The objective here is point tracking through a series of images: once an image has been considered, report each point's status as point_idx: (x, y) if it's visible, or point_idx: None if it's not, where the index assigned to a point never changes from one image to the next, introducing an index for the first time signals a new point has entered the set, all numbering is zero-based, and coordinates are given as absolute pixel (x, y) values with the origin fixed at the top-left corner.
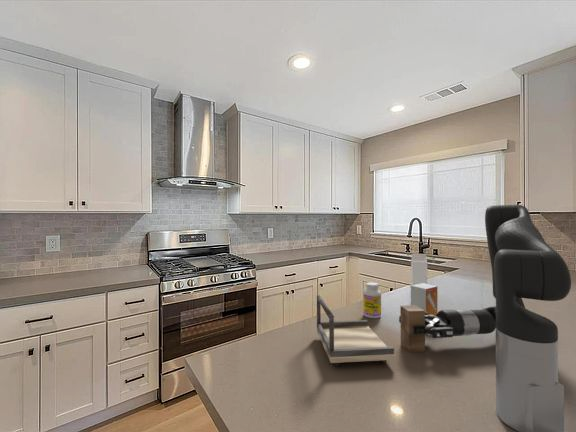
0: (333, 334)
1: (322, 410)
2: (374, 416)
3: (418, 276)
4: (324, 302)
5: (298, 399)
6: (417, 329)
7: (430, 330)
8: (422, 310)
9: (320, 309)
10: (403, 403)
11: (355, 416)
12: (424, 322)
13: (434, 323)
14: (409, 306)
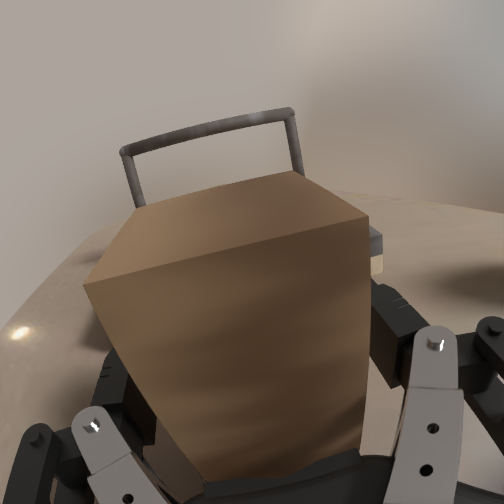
0: (131, 191)
1: (70, 270)
2: (29, 309)
3: None
4: (220, 121)
5: (101, 252)
6: (111, 355)
7: (71, 432)
8: (103, 266)
9: (294, 148)
10: (21, 344)
11: (42, 294)
12: (153, 407)
13: (94, 490)
14: (278, 192)
